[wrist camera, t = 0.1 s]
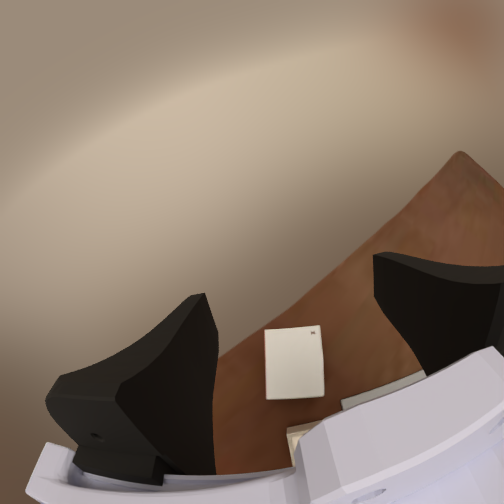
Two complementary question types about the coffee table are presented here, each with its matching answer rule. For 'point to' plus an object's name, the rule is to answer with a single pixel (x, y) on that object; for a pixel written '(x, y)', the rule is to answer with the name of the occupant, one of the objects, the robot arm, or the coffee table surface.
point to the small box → (294, 363)
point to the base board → (382, 390)
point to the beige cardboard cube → (297, 436)
